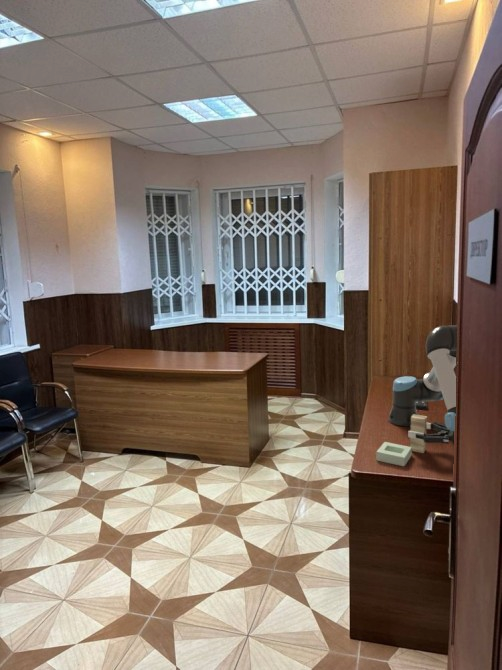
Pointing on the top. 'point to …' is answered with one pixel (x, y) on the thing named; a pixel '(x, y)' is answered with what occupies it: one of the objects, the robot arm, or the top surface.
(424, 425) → the wooden block
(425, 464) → the top surface
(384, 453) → the end cap
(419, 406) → the disk drive
